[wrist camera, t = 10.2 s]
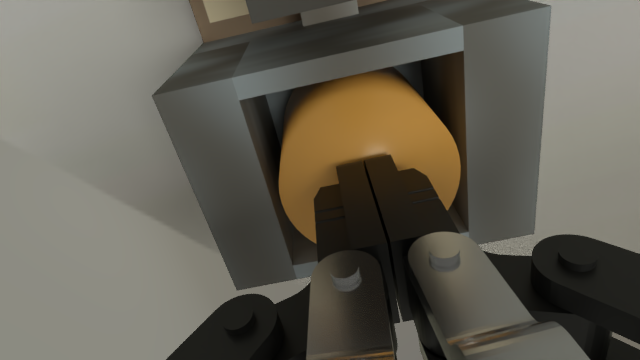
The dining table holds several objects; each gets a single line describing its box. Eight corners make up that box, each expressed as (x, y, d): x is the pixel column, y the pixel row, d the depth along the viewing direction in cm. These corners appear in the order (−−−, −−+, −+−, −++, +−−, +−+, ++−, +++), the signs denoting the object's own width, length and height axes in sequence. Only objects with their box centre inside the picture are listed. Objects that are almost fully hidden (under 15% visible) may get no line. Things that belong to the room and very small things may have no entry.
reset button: (413, 41, 13) (457, 76, 10) (425, 170, 16) (463, 237, 12) (267, 74, 14) (255, 120, 10) (301, 196, 16) (301, 268, 13)
